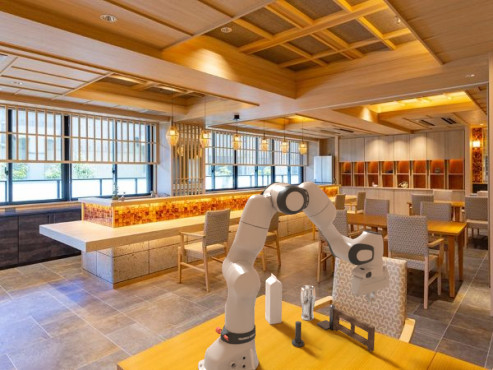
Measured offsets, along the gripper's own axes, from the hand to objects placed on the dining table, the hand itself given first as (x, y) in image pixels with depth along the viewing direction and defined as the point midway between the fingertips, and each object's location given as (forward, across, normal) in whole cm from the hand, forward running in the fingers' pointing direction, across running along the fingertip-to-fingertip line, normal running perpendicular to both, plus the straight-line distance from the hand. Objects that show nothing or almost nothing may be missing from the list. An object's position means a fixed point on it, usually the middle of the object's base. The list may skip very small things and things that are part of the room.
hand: (370, 301), depth 139 cm
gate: (+16, +7, -2) cm, 17 cm away
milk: (+16, +26, -34) cm, 46 cm away
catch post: (+16, +29, -13) cm, 35 cm away
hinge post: (+16, +8, -17) cm, 25 cm away
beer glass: (+17, +10, -28) cm, 34 cm away
